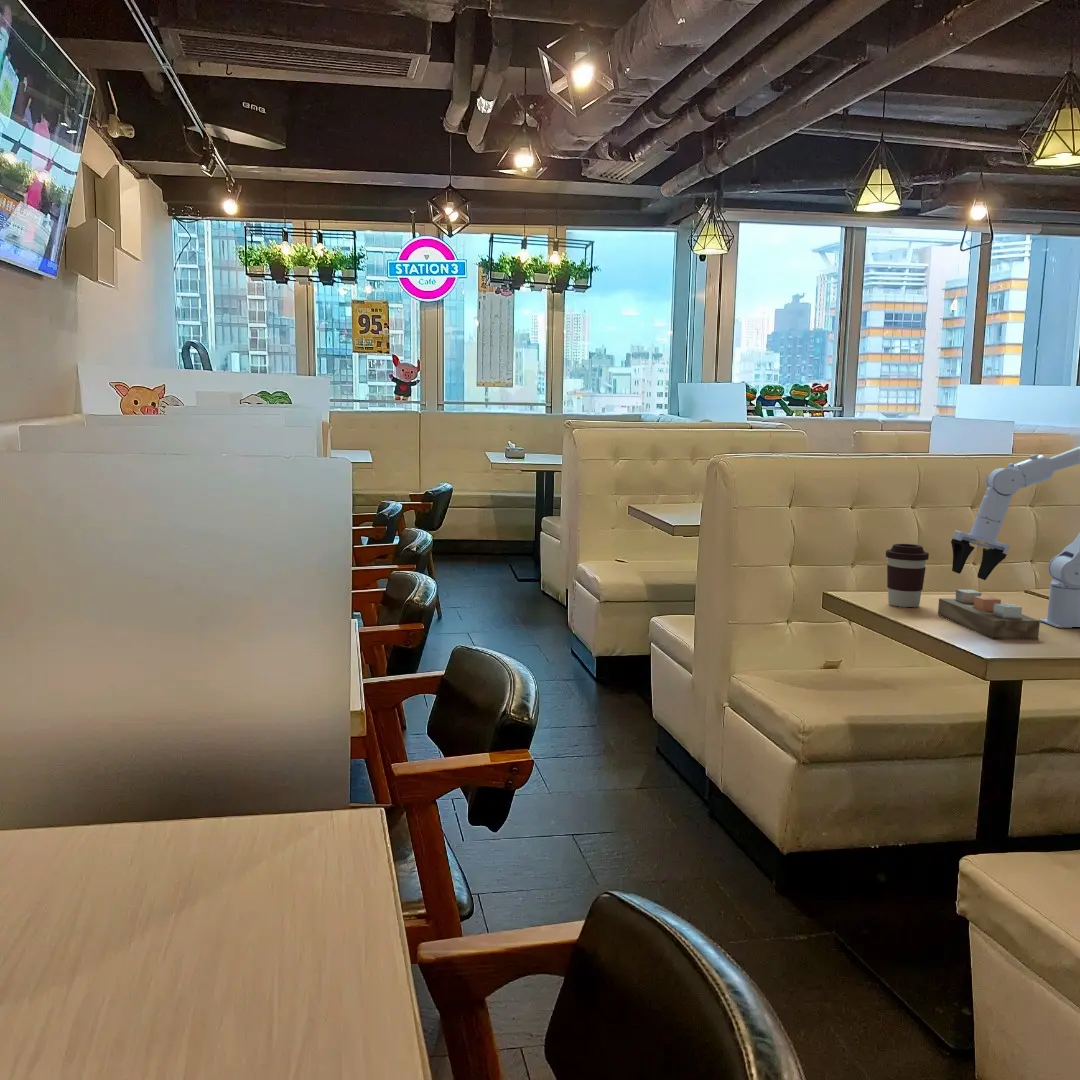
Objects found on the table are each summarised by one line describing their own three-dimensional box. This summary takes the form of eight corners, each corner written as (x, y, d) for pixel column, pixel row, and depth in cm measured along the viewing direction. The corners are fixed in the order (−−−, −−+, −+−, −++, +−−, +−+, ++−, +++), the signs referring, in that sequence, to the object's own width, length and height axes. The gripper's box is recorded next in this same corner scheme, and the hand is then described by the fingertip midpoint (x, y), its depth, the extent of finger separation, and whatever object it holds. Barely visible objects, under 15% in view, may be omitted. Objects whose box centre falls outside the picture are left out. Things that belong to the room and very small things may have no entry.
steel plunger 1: (971, 602, 234) (972, 589, 234) (980, 605, 230) (981, 592, 230) (955, 602, 234) (956, 589, 233) (963, 605, 230) (964, 592, 229)
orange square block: (990, 609, 226) (991, 596, 225) (999, 613, 222) (1000, 599, 221) (973, 609, 225) (974, 596, 225) (982, 613, 221) (983, 599, 221)
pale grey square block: (1010, 617, 217) (1011, 603, 217) (1020, 621, 213) (1021, 607, 213) (993, 617, 217) (994, 603, 216) (1002, 621, 213) (1003, 607, 212)
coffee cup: (898, 609, 241) (902, 548, 240) (874, 602, 251) (878, 542, 249) (933, 608, 244) (938, 547, 242) (908, 601, 254) (912, 542, 252)
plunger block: (978, 615, 237) (980, 598, 236) (1038, 639, 212) (1039, 620, 211) (937, 615, 236) (939, 598, 235) (992, 639, 211) (994, 620, 211)
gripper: (1001, 522, 234) (980, 576, 236) (952, 508, 229) (932, 564, 231) (1023, 529, 227) (1002, 585, 230) (974, 515, 222) (953, 573, 225)
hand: (968, 575), depth 230 cm, fingers open, 7 cm apart
